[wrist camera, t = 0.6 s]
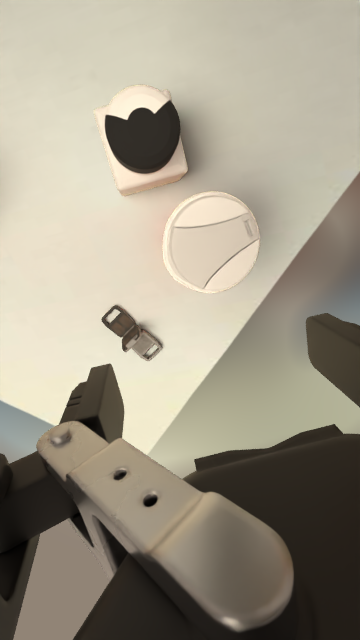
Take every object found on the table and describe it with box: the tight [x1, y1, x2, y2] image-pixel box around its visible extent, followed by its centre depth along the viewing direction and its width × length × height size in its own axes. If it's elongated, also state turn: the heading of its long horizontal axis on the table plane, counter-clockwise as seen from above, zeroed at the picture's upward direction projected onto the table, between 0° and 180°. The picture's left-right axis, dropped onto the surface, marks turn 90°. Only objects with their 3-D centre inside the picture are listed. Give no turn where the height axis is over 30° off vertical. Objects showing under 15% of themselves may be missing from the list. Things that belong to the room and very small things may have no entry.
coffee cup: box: [162, 191, 260, 293], centre depth 33 cm, size 8×8×15 cm
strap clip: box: [102, 306, 162, 361], centre depth 40 cm, size 8×3×4 cm, turn 45°
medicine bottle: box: [94, 85, 188, 196], centre depth 31 cm, size 7×7×12 cm
